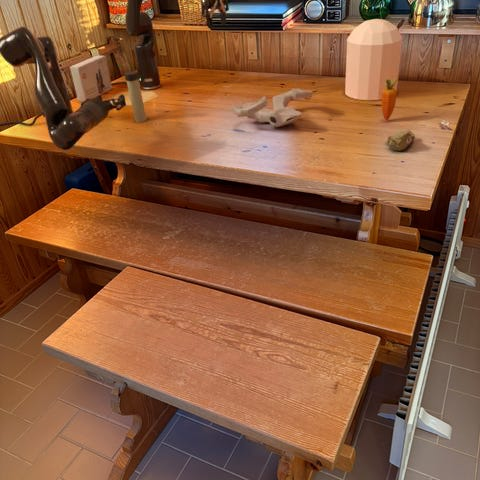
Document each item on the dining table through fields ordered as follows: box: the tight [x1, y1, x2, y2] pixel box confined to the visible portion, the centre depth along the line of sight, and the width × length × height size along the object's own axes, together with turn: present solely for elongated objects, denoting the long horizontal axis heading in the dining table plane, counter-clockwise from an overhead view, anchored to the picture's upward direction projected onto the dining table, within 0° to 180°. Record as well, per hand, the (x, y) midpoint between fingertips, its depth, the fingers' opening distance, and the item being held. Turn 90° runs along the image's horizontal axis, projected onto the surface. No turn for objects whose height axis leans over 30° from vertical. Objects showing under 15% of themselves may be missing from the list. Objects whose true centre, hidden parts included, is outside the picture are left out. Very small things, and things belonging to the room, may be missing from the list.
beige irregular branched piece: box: [231, 88, 314, 128], centre depth 171 cm, size 28×26×12 cm
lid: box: [123, 70, 139, 82], centre depth 178 cm, size 5×5×2 cm
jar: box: [126, 79, 147, 123], centre depth 183 cm, size 5×5×18 cm
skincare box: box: [69, 54, 113, 103], centre depth 218 cm, size 21×6×16 cm, turn 158°
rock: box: [387, 129, 416, 152], centre depth 146 cm, size 11×6×10 cm
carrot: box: [380, 79, 398, 122], centre depth 161 cm, size 5×5×15 cm
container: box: [344, 18, 403, 101], centre depth 185 cm, size 21×21×28 cm
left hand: (111, 97), depth 163 cm, fingers open, 8 cm apart
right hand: (217, 25), depth 186 cm, fingers open, 8 cm apart
